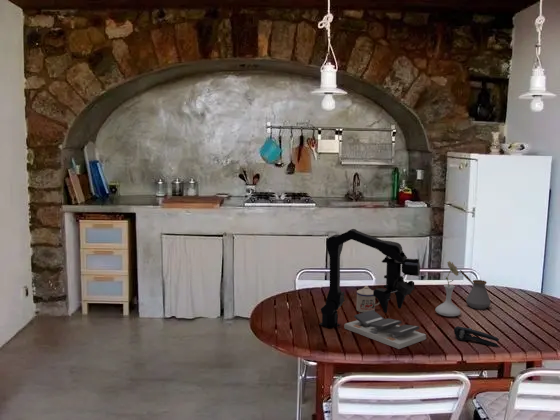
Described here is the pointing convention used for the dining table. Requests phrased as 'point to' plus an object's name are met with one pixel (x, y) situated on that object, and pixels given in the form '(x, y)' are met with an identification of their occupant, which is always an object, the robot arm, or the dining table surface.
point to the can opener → (465, 335)
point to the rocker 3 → (402, 329)
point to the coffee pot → (477, 294)
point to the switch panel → (386, 335)
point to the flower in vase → (449, 297)
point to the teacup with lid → (365, 300)
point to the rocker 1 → (368, 317)
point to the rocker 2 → (385, 323)
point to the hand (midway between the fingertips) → (392, 310)
